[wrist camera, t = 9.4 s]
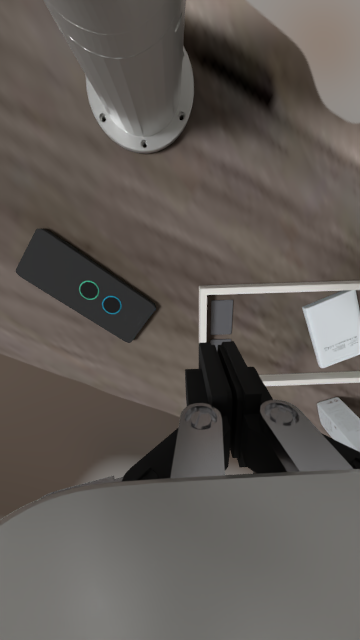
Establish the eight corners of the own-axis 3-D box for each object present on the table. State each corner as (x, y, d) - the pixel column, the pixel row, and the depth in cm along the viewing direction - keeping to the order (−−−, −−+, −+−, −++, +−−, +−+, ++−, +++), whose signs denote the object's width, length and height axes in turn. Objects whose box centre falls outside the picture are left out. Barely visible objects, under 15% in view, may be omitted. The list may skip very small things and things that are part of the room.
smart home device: (129, 345, 40) (13, 274, 35) (130, 340, 41) (20, 272, 37) (157, 307, 37) (37, 225, 33) (158, 303, 39) (44, 225, 34)
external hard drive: (349, 285, 39) (361, 347, 43) (300, 306, 40) (316, 364, 44) (356, 288, 37) (368, 352, 42) (305, 309, 38) (322, 369, 43)
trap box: (199, 285, 38) (201, 291, 34) (405, 279, 38) (427, 283, 35) (198, 381, 44) (200, 394, 41) (375, 375, 45) (391, 386, 41)
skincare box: (315, 402, 47) (361, 458, 35) (338, 395, 46) (392, 449, 35) (321, 425, 49) (365, 484, 37) (343, 418, 48) (395, 476, 37)
